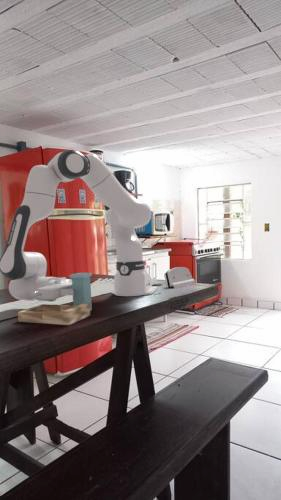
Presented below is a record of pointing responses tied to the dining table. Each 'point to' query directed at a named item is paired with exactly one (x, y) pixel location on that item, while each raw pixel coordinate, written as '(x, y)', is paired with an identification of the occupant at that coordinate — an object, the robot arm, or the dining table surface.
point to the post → (81, 288)
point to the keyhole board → (55, 314)
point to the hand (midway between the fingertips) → (81, 289)
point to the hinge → (178, 277)
